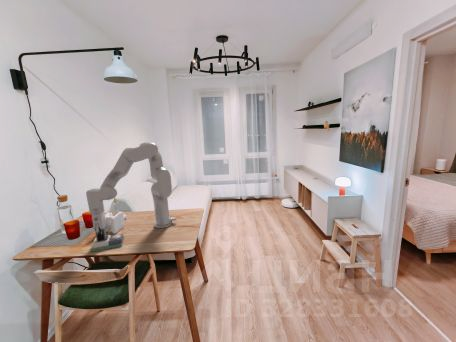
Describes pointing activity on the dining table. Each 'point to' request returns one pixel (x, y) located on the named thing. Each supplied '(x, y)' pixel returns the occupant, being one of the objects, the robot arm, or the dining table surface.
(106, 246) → the header board
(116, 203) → the flower in vase
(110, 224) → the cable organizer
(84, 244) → the dining table surface
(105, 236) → the plug
